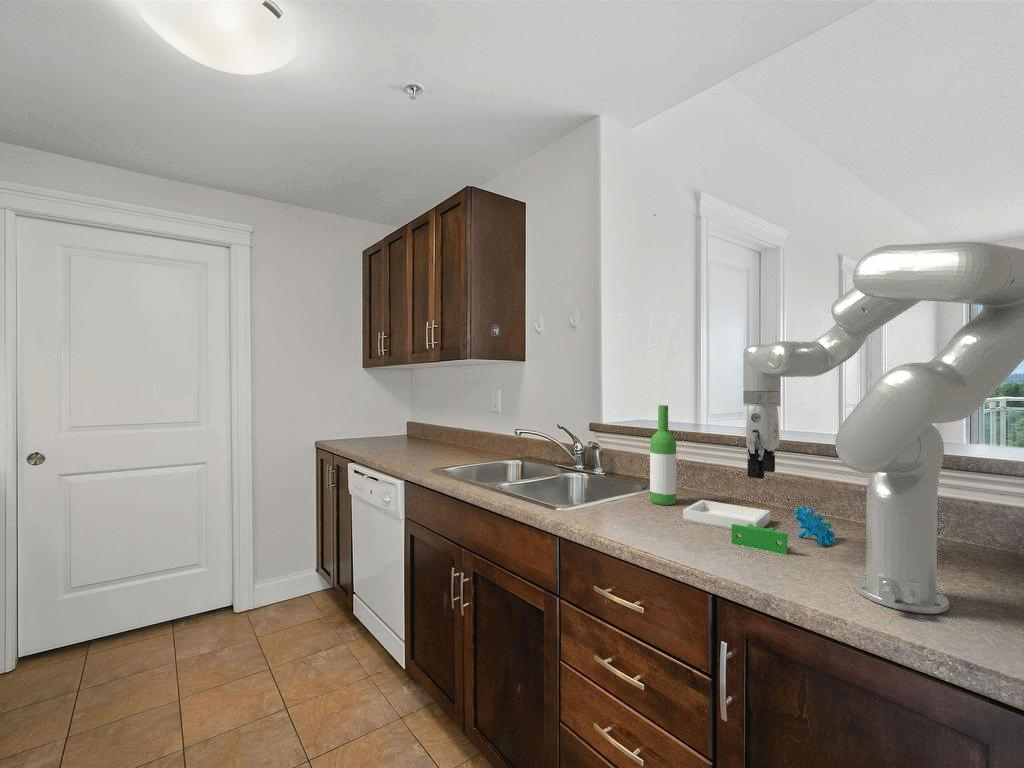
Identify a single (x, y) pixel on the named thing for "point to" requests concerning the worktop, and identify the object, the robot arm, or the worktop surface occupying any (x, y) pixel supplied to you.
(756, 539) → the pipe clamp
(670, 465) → the wine bottle
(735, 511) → the tray
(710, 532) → the worktop surface
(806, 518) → the blue lumpy piece
